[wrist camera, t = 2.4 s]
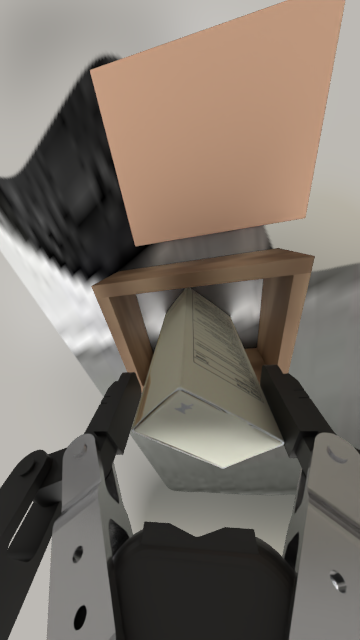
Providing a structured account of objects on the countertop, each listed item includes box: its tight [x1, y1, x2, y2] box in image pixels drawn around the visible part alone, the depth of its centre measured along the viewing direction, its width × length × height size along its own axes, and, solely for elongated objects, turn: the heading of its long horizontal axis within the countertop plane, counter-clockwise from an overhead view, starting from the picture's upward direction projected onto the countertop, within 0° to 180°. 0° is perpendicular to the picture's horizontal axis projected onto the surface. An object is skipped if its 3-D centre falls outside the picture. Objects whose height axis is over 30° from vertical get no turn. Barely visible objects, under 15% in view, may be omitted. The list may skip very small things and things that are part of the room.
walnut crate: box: [92, 248, 315, 392], centre depth 16 cm, size 15×12×5 cm
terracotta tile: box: [90, 0, 345, 246], centre depth 11 cm, size 14×10×1 cm
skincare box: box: [132, 288, 284, 468], centre depth 13 cm, size 6×4×12 cm
